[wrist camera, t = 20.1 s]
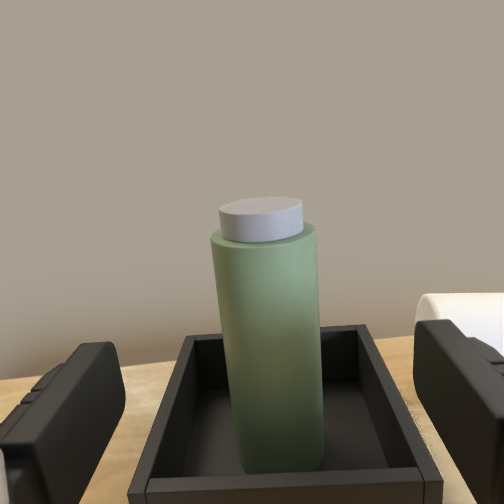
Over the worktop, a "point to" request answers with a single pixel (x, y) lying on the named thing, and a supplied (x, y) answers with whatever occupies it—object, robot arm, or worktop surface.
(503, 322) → the mug
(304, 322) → the water bottle
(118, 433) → the worktop surface
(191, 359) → the bin
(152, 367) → the worktop surface
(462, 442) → the robot arm
